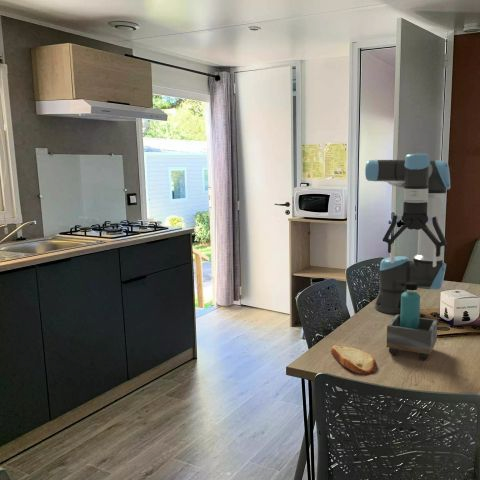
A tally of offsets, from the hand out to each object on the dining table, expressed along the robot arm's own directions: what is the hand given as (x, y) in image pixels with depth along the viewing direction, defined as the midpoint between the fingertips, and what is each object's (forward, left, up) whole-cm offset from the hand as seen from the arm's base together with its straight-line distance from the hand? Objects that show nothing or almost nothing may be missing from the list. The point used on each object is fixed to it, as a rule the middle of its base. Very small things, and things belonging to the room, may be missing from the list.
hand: (413, 264), depth 168 cm
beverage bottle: (0, 0, -27) cm, 27 cm away
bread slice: (+17, -15, -32) cm, 39 cm away
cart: (0, +1, -31) cm, 31 cm away
